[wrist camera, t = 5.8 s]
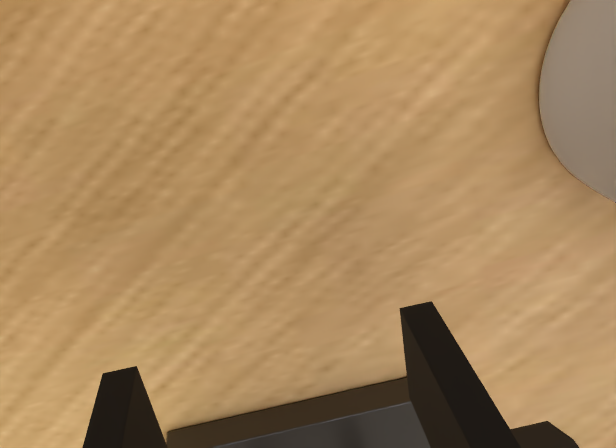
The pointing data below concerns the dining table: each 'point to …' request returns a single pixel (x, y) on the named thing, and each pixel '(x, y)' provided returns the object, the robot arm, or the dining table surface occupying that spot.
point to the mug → (583, 93)
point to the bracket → (318, 423)
